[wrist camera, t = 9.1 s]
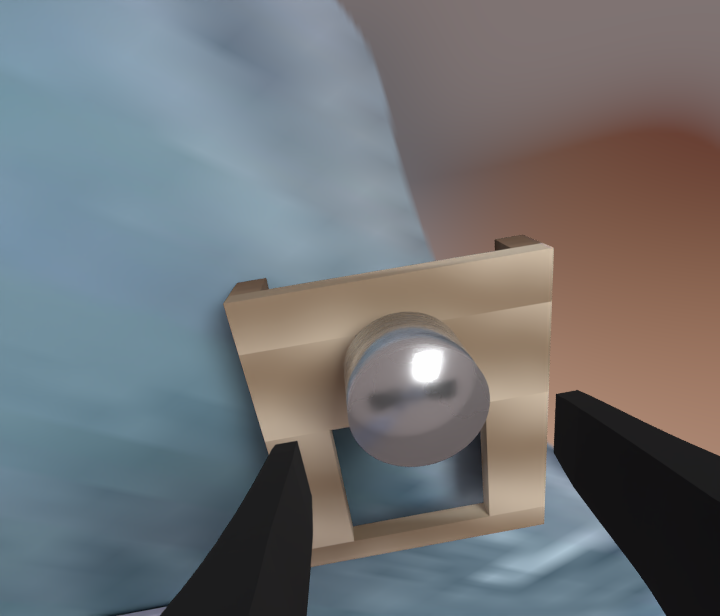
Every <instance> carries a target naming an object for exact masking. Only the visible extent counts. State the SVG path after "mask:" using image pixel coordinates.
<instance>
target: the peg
mask: <svg viewBox="0 0 720 616" xmlns="http://www.w3.org/2000/svg"><path fill="white" fill-rule="evenodd" d="M344 379H345V391H346V402H347V414H348V422H349V426H350V430H351V432H352V434H353V436H354V438H355V440H356V441H357V443H358V444H359V445H360V446H361V447H362V448H363V449H364V450H365V451H366V452H367V453H368V454H370V455H371V456H373V457H374V458H376V459H378V460H380V461H383V462H385V463H388V464H392V465H397V466H405V467H418V466H425V465H430V464H434V463H437V462H440V461H443V460H445V459H447V458H450V457H452V456H453V455H455V454H457V453H458V452H460V451H461V450H462V449H464V448H465V447H466V446H467V445H468V444H470V443H471V442H472V441H473V440H474V438H475V437H476V436H477V435H478V433H479V432H480V430H481V429H482V427H483V425H484V423H485V421H486V418H487V415H488V412H489V407H490V392H489V387H488V384H487V381H486V379H485V377H484V375H483V373H482V372H481V370H480V369H479V368H478V366H477V365H476V363H475V362H474V360H473V359H472V358H471V356H470V355H469V353H468V352H467V351H466V349H465V348H464V346H463V345H462V344H461V342H460V341H459V339H458V338H457V337H456V335H455V334H454V332H453V331H452V330H451V329H450V328H449V327H448V326H447V325H446V324H445V323H443V322H442V321H441V320H439V319H437V318H435V317H433V316H430V315H428V314H424V313H420V312H398V313H393V314H389V315H386V316H383V317H381V318H379V319H377V320H375V321H373V322H371V323H370V324H369V325H367V326H366V327H365V328H363V329H362V330H361V331H360V332H359V333H358V335H355V338H354V340H353V341H352V343H351V344H350V346H349V348H348V350H347V353H346V357H345V361H344Z"/></svg>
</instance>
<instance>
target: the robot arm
mask: <svg viewBox="0 0 720 616" xmlns="http://www.w3.org/2000/svg"><path fill="white" fill-rule="evenodd" d="M554 454H555V456H556V457H557V459H558V461H559V463H560V465H561V466H562V468H563V470H564V472H565V473H566V475H567V477H568V478H569V480H570V482H571V483H572V485H573V487H574V488H575V489H576V491H577V492H578V494H579V495H580V496H581V498H582V499H583V500H584V502H585V503H586V504H587V506H588V507H589V508H590V510H591V511H592V512H593V514H594V515H595V516H596V518H597V519H598V520H599V522H600V523H601V524H602V526H603V527H604V528H605V530H606V531H607V532H608V533H609V535H610V536H611V537H612V539H613V540H614V541H615V543H616V544H617V545H618V547H619V548H620V549H621V551H622V552H623V553H624V555H625V556H626V557H627V558H628V560H629V561H630V562H631V564H632V565H633V566H634V568H635V569H636V571H637V572H638V573H639V575H640V576H641V578H642V579H643V580H644V582H645V583H646V585H647V586H648V588H649V589H650V591H651V592H652V594H653V595H654V597H655V599H656V600H657V602H658V603H659V605H660V606H661V608H662V610H663V611H664V613H665V614H666V616H720V456H718V455H716V454H713V453H711V452H709V451H707V450H704V449H702V448H700V447H697V446H695V445H693V444H690V443H688V442H686V441H684V440H681V439H679V438H677V437H675V436H673V435H670V434H668V433H666V432H664V431H662V430H660V429H657V428H656V427H654V426H651V425H649V424H647V423H645V422H643V421H641V420H639V419H637V418H635V417H633V416H631V415H628V414H627V413H625V412H623V411H621V410H619V409H617V408H614V407H612V406H611V405H608V404H606V403H604V402H602V401H600V400H598V399H596V398H594V397H592V396H590V395H587V394H585V393H583V392H581V391H578V390H576V391H571V392H565V393H560V394H556V409H555V433H554ZM312 543H313V509H312V494H311V491H310V487H309V483H308V479H307V475H306V472H305V468H304V464H303V460H302V456H301V452H300V449H299V445H298V441H292V442H287V443H281V444H276V445H275V446H274V447H273V448H272V450H271V452H270V454H269V455H268V457H267V459H266V461H265V463H264V465H263V467H262V469H261V470H260V472H259V474H258V476H257V478H256V479H255V481H254V483H253V485H252V487H251V488H250V490H249V492H248V493H247V495H246V497H245V498H244V500H243V502H242V503H241V505H240V507H239V508H238V510H237V512H236V513H235V515H234V516H233V518H232V519H231V521H230V523H229V524H228V526H227V527H226V529H225V530H224V532H223V533H222V535H221V536H220V538H219V539H218V541H217V542H216V544H215V545H214V547H213V548H212V549H211V551H210V552H209V554H208V555H207V556H206V558H205V559H204V561H203V562H202V563H201V565H200V566H199V567H198V569H197V570H196V571H195V573H194V574H193V575H192V576H191V578H190V579H189V580H188V582H187V583H186V584H185V585H184V587H183V588H182V589H181V591H180V592H179V593H178V594H177V595H176V597H175V598H174V599H173V600H172V601H171V603H170V604H169V605H168V606H167V607H161V608H156V609H151V610H145V611H140V612H134V613H129V614H124V615H118V616H307V605H308V593H309V581H310V569H311V556H312Z"/></svg>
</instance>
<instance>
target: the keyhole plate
mask: <svg viewBox="0 0 720 616" xmlns="http://www.w3.org/2000/svg"><path fill="white" fill-rule="evenodd" d="M553 250H554V248H553V247H551V246H548V245H546V244H544V243H541V242H539V241H536V240H534V239H532V238H529V237H527V236H525V235H519V236H512V237H506V238H501V239H495V251H492V252H486V253H481V254H475V255H469V256H463V257H457V258H451V259H445V260H440V261H433V262H427V263H421V264H416V265H410V266H404V267H398V268H392V269H386V270H380V271H374V272H368V273H362V274H357V275H351V276H345V277H339V278H333V279H327V280H321V281H315V282H309V283H303V284H298V285H292V286H286V287H280V288H274V289H269V288H268V284H267V280H266V278H264V279H258V280H252V281H246V282H240V283H237V284H236V285H235V287H234V288H233V290H232V291H231V293H230V294H229V296H228V297H227V299H226V300H225V302H224V303H223V305H224V308H225V311H226V315H227V318H228V321H229V325H230V328H231V331H232V335H233V338H234V341H235V345H236V348H237V351H238V354H239V358H240V361H241V364H242V368H243V371H244V374H245V378H246V381H247V384H248V388H249V391H250V394H251V397H252V401H253V404H254V407H255V411H256V414H257V417H258V421H259V424H260V427H261V430H262V434H263V437H264V440H265V444H266V447H267V450H268V454H270V452H271V450H272V448H273V447H274V446H275V445H276V444H281V443H287V442H292V441H298V445H299V449H300V452H301V456H302V460H303V464H304V468H305V472H306V475H307V479H308V483H309V487H310V491H311V494H312V509H313V543H312V556H311V567H313V566H319V565H324V564H330V563H335V562H340V561H346V560H351V559H357V558H362V557H367V556H373V555H378V554H384V553H389V552H395V551H400V550H405V549H411V548H416V547H422V546H427V545H432V544H438V543H443V542H449V541H454V540H460V539H465V538H470V537H476V536H481V535H487V534H492V533H497V532H503V531H508V530H514V529H519V528H525V527H530V526H535V525H541V524H544V509H545V480H546V452H547V421H548V394H549V365H550V364H549V363H550V338H551V337H550V336H551V308H552V279H553ZM398 312H420V313H424V314H428V315H430V316H433V317H435V318H437V319H439V320H441V321H442V322H443V323H445V324H446V325H447V326H448V327H449V328H450V329H451V330H452V331H453V332H454V334H455V335H456V337H457V338H458V339H459V341H460V342H461V344H462V345H463V346H464V348H465V349H466V351H467V352H468V353H469V355H470V356H471V358H472V359H473V360H474V362H475V363H476V365H477V366H478V368H479V369H480V370H481V372H482V373H483V375H484V377H485V379H486V381H487V384H488V387H489V392H490V407H489V412H488V415H487V418H486V421H485V423H484V425H483V427H482V429H481V430H480V434H481V457H482V479H483V502H484V503H479V504H473V505H468V506H462V507H457V508H451V509H446V510H440V511H435V512H429V513H424V514H418V515H413V516H408V517H402V518H397V519H391V520H386V521H380V522H375V523H369V524H364V525H358V526H353V524H352V520H351V515H350V510H349V506H348V501H347V497H346V492H345V488H344V483H343V479H342V474H341V469H340V465H339V460H338V456H337V451H336V447H335V442H334V437H333V433H332V430H335V429H341V428H346V427H350V426H349V422H348V414H347V402H346V391H345V379H344V361H345V357H346V353H347V350H348V348H349V346H350V344H351V343H352V341H353V340H354V338H355V335H358V333H359V332H360V331H361V330H362V329H363V328H365V327H366V326H367V325H369V324H370V323H371V322H373V321H375V320H377V319H379V318H381V317H383V316H386V315H389V314H393V313H398Z"/></svg>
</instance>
